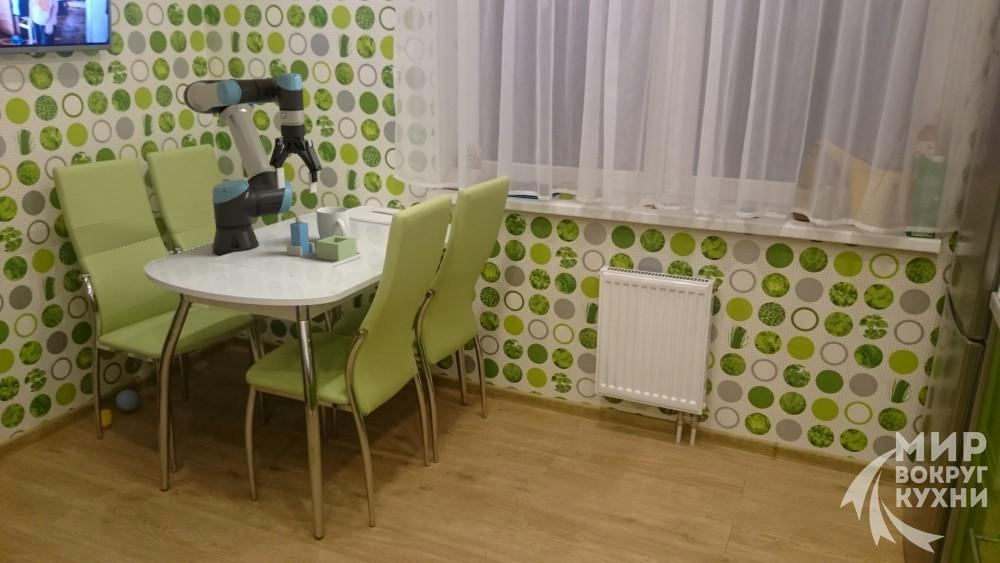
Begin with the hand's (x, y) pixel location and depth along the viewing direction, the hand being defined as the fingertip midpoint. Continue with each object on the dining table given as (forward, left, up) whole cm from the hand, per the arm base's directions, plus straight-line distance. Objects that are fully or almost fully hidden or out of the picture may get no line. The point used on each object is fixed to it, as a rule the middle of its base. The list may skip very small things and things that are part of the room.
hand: (297, 190), depth 261 cm
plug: (0, 0, -21) cm, 21 cm away
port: (+13, +3, -21) cm, 25 cm away
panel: (+7, +3, -23) cm, 24 cm away
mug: (+1, +16, -23) cm, 28 cm away
